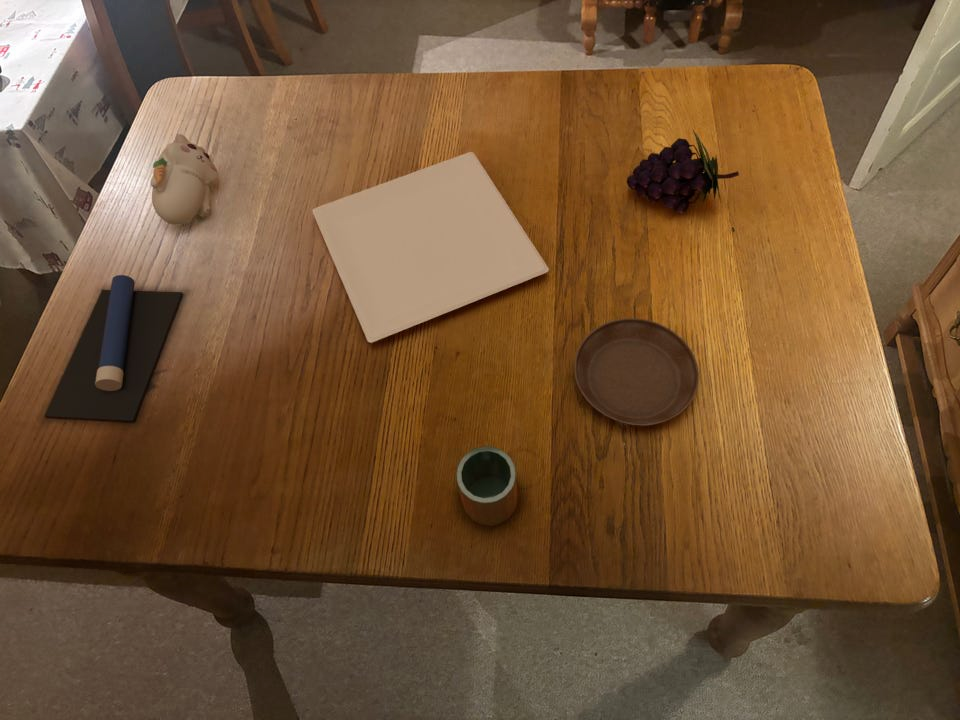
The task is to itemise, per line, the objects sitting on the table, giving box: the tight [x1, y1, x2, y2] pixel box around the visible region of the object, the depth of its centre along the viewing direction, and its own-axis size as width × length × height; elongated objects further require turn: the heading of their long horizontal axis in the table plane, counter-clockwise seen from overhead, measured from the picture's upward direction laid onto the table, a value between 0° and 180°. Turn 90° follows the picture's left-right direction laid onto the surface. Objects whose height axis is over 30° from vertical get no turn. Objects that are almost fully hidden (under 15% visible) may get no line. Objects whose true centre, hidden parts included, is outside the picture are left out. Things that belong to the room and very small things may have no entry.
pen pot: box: [455, 445, 518, 527], centre depth 72 cm, size 6×6×8 cm
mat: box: [44, 289, 184, 423], centre depth 89 cm, size 20×12×1 cm, turn 175°
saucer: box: [573, 317, 700, 426], centre depth 81 cm, size 15×15×3 cm
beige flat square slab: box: [311, 151, 550, 344], centre depth 94 cm, size 26×26×2 cm
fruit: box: [626, 129, 740, 214], centre depth 92 cm, size 10×11×15 cm
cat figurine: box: [149, 133, 220, 226], centre depth 99 cm, size 10×8×15 cm
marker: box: [95, 274, 136, 391], centre depth 88 cm, size 3×3×17 cm
